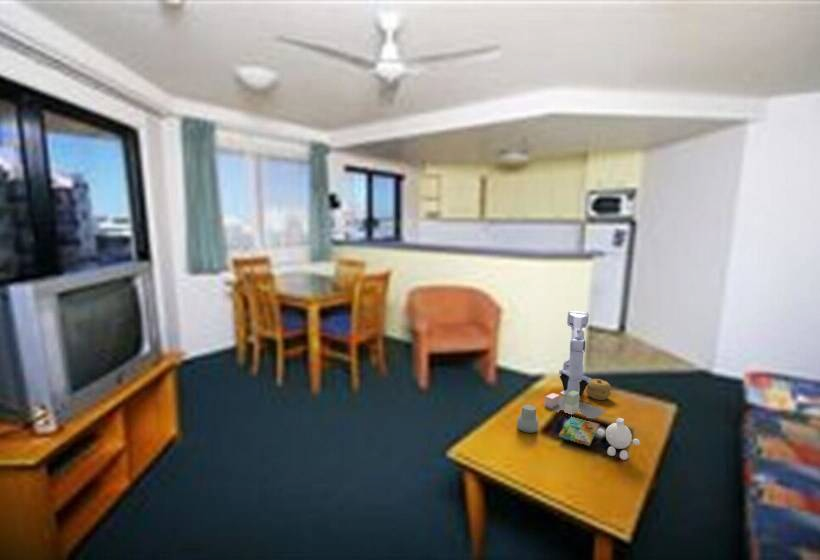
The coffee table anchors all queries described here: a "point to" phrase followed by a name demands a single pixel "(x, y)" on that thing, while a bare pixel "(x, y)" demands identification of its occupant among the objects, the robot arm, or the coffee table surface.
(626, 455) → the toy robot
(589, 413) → the mat
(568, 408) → the cream brick
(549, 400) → the rose brick
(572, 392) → the sage brick
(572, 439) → the puzzle game
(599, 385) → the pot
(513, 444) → the coffee table surface
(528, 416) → the air freshener
